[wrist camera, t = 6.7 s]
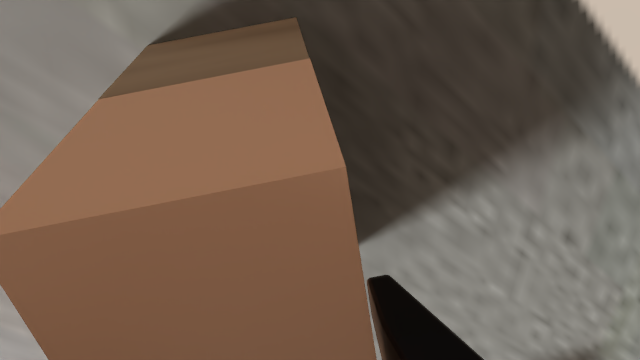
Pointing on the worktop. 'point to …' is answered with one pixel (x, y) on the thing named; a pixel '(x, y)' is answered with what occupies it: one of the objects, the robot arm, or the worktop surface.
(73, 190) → the terracotta brick
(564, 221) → the worktop surface
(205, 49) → the walnut brick
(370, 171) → the worktop surface
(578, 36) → the worktop surface
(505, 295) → the worktop surface
